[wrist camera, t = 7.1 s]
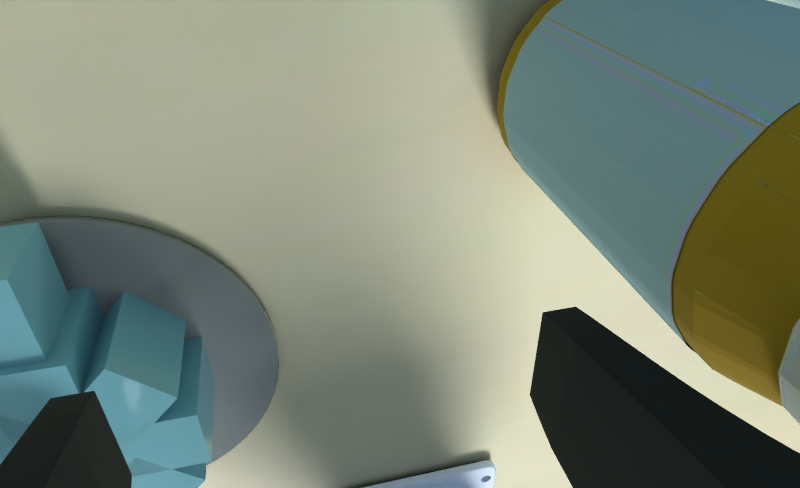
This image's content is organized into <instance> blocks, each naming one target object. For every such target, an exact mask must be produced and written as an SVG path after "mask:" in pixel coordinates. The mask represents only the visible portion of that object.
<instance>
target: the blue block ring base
mask: <svg viewBox="0 0 800 488" xmlns="http://www.w3.org/2000/svg"><path fill="white" fill-rule="evenodd" d="M278 366H279V363H278V351H277V341H276V337H275V334H274V330H273V326H272V324H271V321H270V319H269V317H268V315H267V313H266V311H265V309H264V307H263V306H262V304H261V303H260V301H259V300H258V298H257V297H256V295H255V294H254V293H253V291H252V290H251V289H250V288H249V287H248V286H247V285H246V284H245V283H244V282H243V281H242V279H241V278H240V277H239V276H237V275H236V274H235V273H234V272H233V271H231V270H230V269H229V268H228V267H226V266H225V265H224V264H223V263H222V262H220V261H219V260H217V259H215V258H214V257H212V256H211V255H209V254H207V253H206V252H204V251H203V250H201V249H199V248H197V247H195V246H193V245H191V244H189V243H187V242H185V241H183V240H181V239H178V238H176V237H174V236H171V235H168V234H165V233H162V232H159V231H157V230H154V229H151V228H147V227H143V226H139V225H135V224H131V223H126V222H122V221H116V220H108V219H101V218H94V217H73V216H53V217H38V218H26V219H21V220H15V221H9V222H4V223H0V464H1V463H2V461H3V460H4V459H5V457H6V456H7V455H8V453H9V452H10V451H11V449H12V448H13V447H14V445H15V444H16V442H17V441H18V440H19V438H20V437H21V436H22V434H23V433H24V432H25V430H26V429H27V428H28V426H29V425H30V424H31V422H32V421H33V420H34V419H35V417H36V416H37V415H38V413H39V412H40V411H41V409H42V408H43V407H44V406H45V404H46V403H47V402H48V401H49V399H50V398H55V397H61V396H66V395H72V394H78V393H84V392H89V391H95V393H96V395H97V398H98V400H99V402H100V404H101V406H102V409H103V411H104V413H105V415H106V418H107V420H108V422H109V424H110V427H111V429H112V431H113V433H114V436H115V438H116V440H117V442H118V445H119V447H120V449H121V451H122V454H123V456H124V458H125V460H126V463H127V465H128V467H129V469H130V472H131V474H132V483H131V488H198V487H199V486H200V485H201V484H202V483H203V482H204V481H205V476H206V465H208V464H210V463H212V462H213V461H215V460H217V459H219V458H220V457H221V456H223V455H224V454H226V453H227V452H229V451H230V450H231V449H233V448H234V447H235V446H236V445H237V444H238V443H240V442H241V441H242V440H243V439H244V438H245V437H246V436H247V435H248V434H249V433H250V432H251V431H252V430H253V428H254V427H255V426H256V425H257V424H258V422H259V421H260V419H261V418H262V416H263V415H264V413H265V412H266V410H267V408H268V406H269V404H270V401H271V399H272V397H273V394H274V390H275V387H276V383H277V377H278Z"/></svg>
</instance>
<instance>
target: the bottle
mask: <svg viewBox="0 0 800 488" xmlns="http://www.w3.org/2000/svg"><path fill="white" fill-rule="evenodd" d="M497 116H498V121H499V125H500V130H501V135H502V138H503V140H504V143H505V145H506V146H507V148H508V149H509V151H510V152H511V154H512V155H513V157H514V159H515V160H516V161H517V162H518V163H519V165H520V166H521V168H522V169H523V170H524V171H525V172H526V173H527V175H528V176H529V177H530V178H531V179H532V180H533V181H534V182H535V183H536V184H537V185H538V186H539V187H540V188H541V190H542V191H543V192H544V193H545V194H546V195H547V196H548V197H549V198H550V199H551V200H552V201H553V202H554V203H555V205H556V206H557V207H558V208H559V209H560V210H561V211H562V212H563V213H564V214H565V215H566V216H567V217H568V218H569V219H570V221H571V222H572V223H573V224H574V225H575V226H576V227H577V228H578V229H579V230H580V231H581V232H582V233H583V234H584V236H585V237H586V238H587V239H588V240H589V241H590V242H591V243H592V244H593V245H594V246H595V247H596V248H597V249H598V250H599V252H600V253H601V254H602V255H603V256H604V257H605V258H606V259H607V260H608V261H609V262H610V263H611V264H612V265H613V267H614V268H615V269H616V270H617V271H618V272H619V273H620V274H621V275H622V276H623V277H624V278H625V279H626V280H627V281H628V283H629V284H630V285H631V286H632V287H633V288H634V289H635V290H636V291H637V292H638V293H639V294H640V295H641V296H642V298H643V299H644V300H645V301H646V302H647V303H648V304H649V305H650V306H651V307H652V308H653V309H654V310H655V311H656V313H657V314H658V315H659V316H660V317H661V318H662V319H663V320H664V321H665V322H666V323H667V324H668V325H669V326H670V327H671V329H672V330H673V331H674V332H675V333H676V334H677V335H678V336H679V337H680V338H681V339H682V340H683V341H684V342H685V344H686V345H687V346H688V347H689V348H690V349H691V350H693V351H695V352H696V353H697V354H698V355H699V356H700V357H701V358H702V359H703V360H704V361H705V362H706V363H707V364H708V365H709V366H710V367H711V368H712V369H713V370H715V371H717V372H718V373H720V374H722V375H723V376H725V377H727V378H729V379H730V380H732V381H734V382H736V383H738V384H740V385H742V386H744V387H746V388H748V389H750V390H752V391H754V392H756V393H758V394H759V395H761V396H763V397H765V398H767V399H769V400H771V401H773V402H775V403H777V404H779V405H781V406H783V407H784V408H785V409H786V410H787V411H788V412H789V413H790V414H791V415H792V417H793V418H794V419H795V420H796V421H797V422H798V423H799V424H800V9H798V8H794V7H790V6H786V5H782V4H778V3H774V2H770V1H766V0H548V1H547V2H546V3H544V4H543V5H542V6H541V7H540V8H539V9H538V10H537V11H536V12H535V14H534V15H533V16H532V18H531V19H530V20H529V22H528V23H527V24H526V25H525V27H524V28H523V29H522V31H521V32H520V33H519V35H518V36H517V38H516V40H515V41H514V43H513V45H512V47H511V50H510V52H509V55H508V57H507V60H506V62H505V65H504V67H503V70H502V73H501V77H500V81H499V90H498V99H497Z"/></svg>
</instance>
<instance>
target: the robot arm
mask: <svg viewBox="0 0 800 488" xmlns="http://www.w3.org/2000/svg"><path fill="white" fill-rule="evenodd" d="M530 396H531V399H532V401H533V404H534V406H535V409H536V412H537V414H538V417H539V419H540V422H541V424H542V427H543V429H544V431H545V434H546V436H547V438H548V441H549V443H550V445H551V448H552V450H553V452H554V454H555V455H556V457H557V459H558V461H559V463H560V465H561V466H562V468H563V470H564V472H565V474H566V475H567V477H568V479H569V481H570V483H571V485H572V486H573V488H800V453H798V452H796V451H794V450H792V449H791V448H789V447H787V446H785V445H784V444H782V443H780V442H778V441H777V440H775V439H773V438H772V437H770V436H768V435H766V434H765V433H763V432H761V431H760V430H758V429H757V428H755V427H753V426H752V425H750V424H748V423H747V422H745V421H744V420H742V419H740V418H739V417H737V416H735V415H734V414H732V413H731V412H729V411H727V410H726V409H724V408H722V407H721V406H719V405H718V404H716V403H715V402H713V401H712V400H710V399H709V398H707V397H705V396H704V395H702V394H701V393H699V392H698V391H696V390H695V389H693V388H692V387H690V386H689V385H687V384H686V383H684V382H683V381H681V380H680V379H678V378H677V377H675V376H674V375H672V374H671V373H670V372H668V371H667V370H665V369H664V368H662V367H661V366H659V365H658V364H657V363H655V362H654V361H652V360H651V359H649V358H648V357H647V356H645V355H644V354H642V353H641V352H639V351H638V350H637V349H635V348H634V347H632V346H631V345H630V344H628V343H627V342H625V341H624V340H623V339H621V338H620V337H618V336H617V335H616V334H614V333H613V332H611V331H610V330H608V329H607V328H606V327H604V326H603V325H601V324H600V323H599V322H597V321H596V320H594V319H593V318H591V317H590V316H589V315H587V314H586V313H584V312H583V311H581V310H580V309H578V308H577V307H571V308H566V309H560V310H554V311H548V312H543V315H542V321H541V327H540V334H539V340H538V347H537V353H536V359H535V366H534V372H533V378H532V385H531V391H530ZM495 472H496V469H495V466H494V464H493V462H492V461H488V460H486V461H481V462H476V463H472V464H467V465H462V466H458V467H453V468H449V469H444V470H440V471H435V472H431V473H426V474H421V475H417V476H412V477H408V478H403V479H399V480H394V481H390V482H385V483H380V484H376V485H371V486H367V487H362V488H494V480H495ZM131 483H132V474H131V472H130V469H129V467H128V465H127V463H126V460H125V458H124V456H123V454H122V451H121V449H120V447H119V445H118V442H117V440H116V438H115V436H114V433H113V431H112V429H111V427H110V424H109V422H108V420H107V418H106V415H105V413H104V411H103V409H102V406H101V404H100V402H99V400H98V398H97V395H96V393H95V391H89V392H84V393H78V394H72V395H66V396H61V397H55V398H50V399H49V401H48V402H47V403H46V404H45V406H44V407H43V408H42V409H41V411H40V412H39V413H38V415H37V416H36V417H35V419H34V420H33V421H32V422H31V424H30V425H29V426H28V428H27V429H26V430H25V432H24V433H23V434H22V436H21V437H20V438H19V440H18V441H17V442H16V444H15V445H14V447H13V448H12V449H11V451H10V452H9V453H8V455H7V456H6V457H5V459H4V460H3V461H2V463H1V464H0V488H131Z"/></svg>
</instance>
